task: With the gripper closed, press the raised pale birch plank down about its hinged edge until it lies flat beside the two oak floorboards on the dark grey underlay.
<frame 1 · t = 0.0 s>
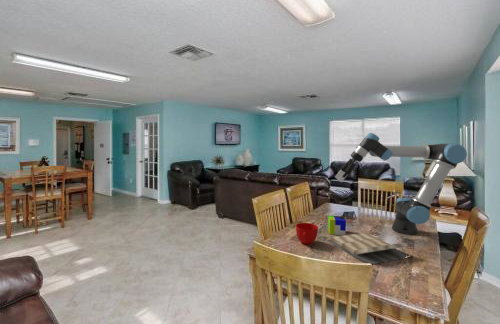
hand: (337, 179, 169), 36 cm above the table, tool tilted 35°, fingers open, 13 cm apart
ceramic cup: (305, 243, 152), on the table
birch plank: (381, 248, 136), point 4 cm above the table, hinge at 30.0°
puzzle toy: (336, 232, 172), on the table
floor section: (366, 248, 146), on the table
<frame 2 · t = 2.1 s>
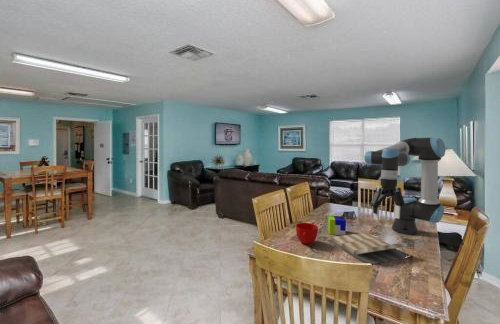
hand: (386, 218, 132), 21 cm above the table, tool pointing down, fingers open, 13 cm apart
nothing on the table moved.
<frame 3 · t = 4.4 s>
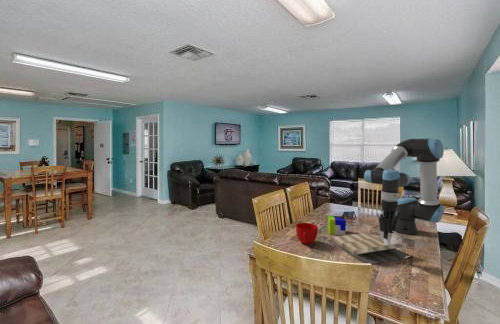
hand: (386, 244, 132), 8 cm above the table, tool pointing down, fingers closed
birch plank: (381, 248, 136), point 4 cm above the table, hinge at 29.7°, touching gripper
everything else where it was.
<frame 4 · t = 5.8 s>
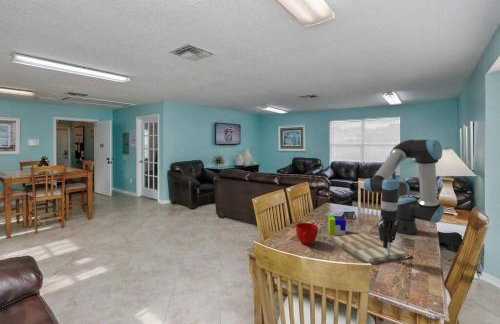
hand: (386, 253, 133), 3 cm above the table, tool pointing down, fingers closed
birch plank: (381, 253, 136), point 1 cm above the table, hinge at 0.0°, touching floor section, gripper
everything else where it was.
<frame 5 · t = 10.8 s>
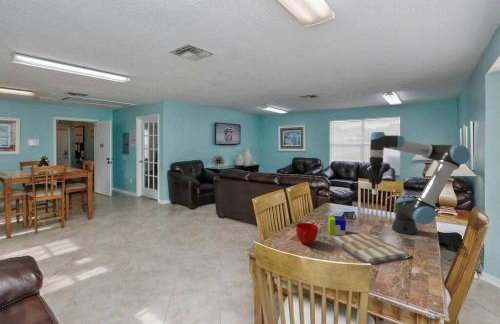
hand: (374, 194, 161), 28 cm above the table, tool pointing down, fingers closed
birch plank: (381, 253, 136), point 1 cm above the table, hinge at 0.0°, touching floor section
everything else where it was.
at the end: birch plank at +0° (first picture: +30°) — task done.
